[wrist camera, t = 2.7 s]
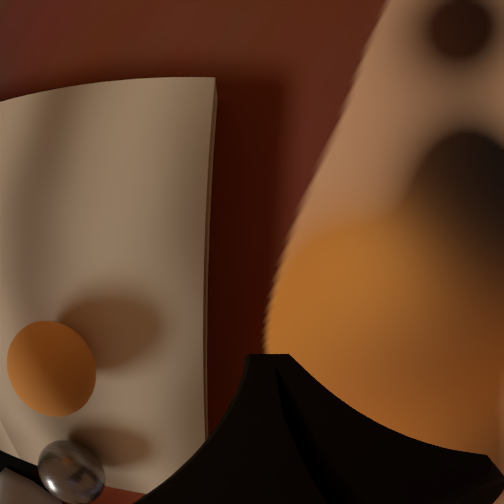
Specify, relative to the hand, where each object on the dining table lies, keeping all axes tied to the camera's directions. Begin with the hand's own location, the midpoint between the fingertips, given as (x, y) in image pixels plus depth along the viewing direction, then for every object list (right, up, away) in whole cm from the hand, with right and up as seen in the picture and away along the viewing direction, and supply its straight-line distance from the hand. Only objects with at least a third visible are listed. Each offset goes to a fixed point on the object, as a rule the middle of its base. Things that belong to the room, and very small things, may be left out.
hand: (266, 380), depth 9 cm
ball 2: (-8, -6, 0) cm, 10 cm away
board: (-11, +1, +3) cm, 12 cm away
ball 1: (-7, 0, -1) cm, 7 cm away
